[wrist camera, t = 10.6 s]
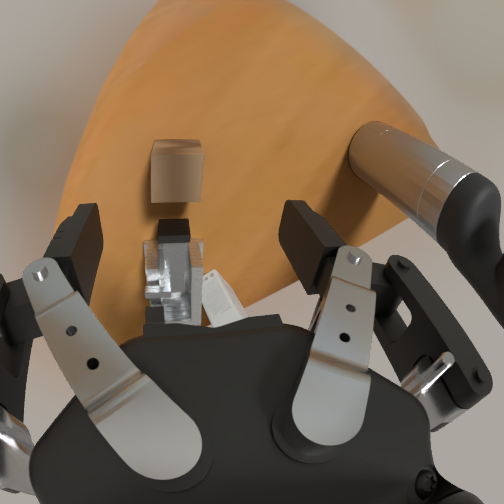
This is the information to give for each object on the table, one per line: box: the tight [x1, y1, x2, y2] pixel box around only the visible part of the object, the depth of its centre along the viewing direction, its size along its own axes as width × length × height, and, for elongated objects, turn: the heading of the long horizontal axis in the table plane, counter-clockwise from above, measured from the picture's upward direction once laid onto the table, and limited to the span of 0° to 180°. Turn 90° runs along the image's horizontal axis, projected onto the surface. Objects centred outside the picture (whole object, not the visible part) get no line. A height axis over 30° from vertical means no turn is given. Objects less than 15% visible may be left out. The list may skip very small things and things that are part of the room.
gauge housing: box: [143, 238, 203, 325], centre depth 37 cm, size 8×11×6 cm
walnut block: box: [151, 139, 204, 203], centre depth 28 cm, size 5×5×6 cm
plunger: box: [145, 219, 191, 299], centre depth 32 cm, size 6×10×6 cm, turn 171°
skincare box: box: [202, 269, 249, 328], centre depth 39 cm, size 6×4×12 cm
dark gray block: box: [146, 306, 165, 324], centre depth 33 cm, size 2×1×3 cm, turn 81°
